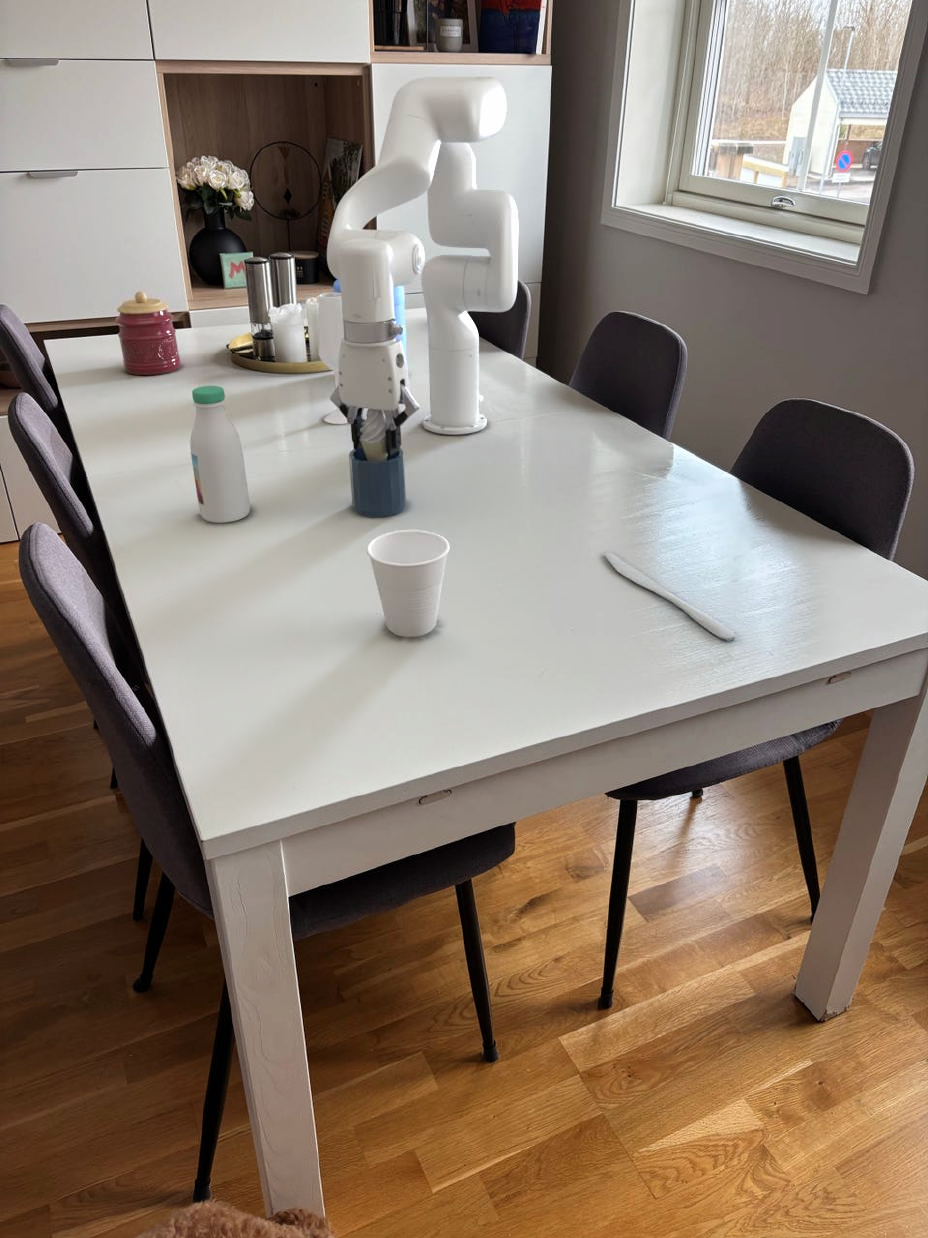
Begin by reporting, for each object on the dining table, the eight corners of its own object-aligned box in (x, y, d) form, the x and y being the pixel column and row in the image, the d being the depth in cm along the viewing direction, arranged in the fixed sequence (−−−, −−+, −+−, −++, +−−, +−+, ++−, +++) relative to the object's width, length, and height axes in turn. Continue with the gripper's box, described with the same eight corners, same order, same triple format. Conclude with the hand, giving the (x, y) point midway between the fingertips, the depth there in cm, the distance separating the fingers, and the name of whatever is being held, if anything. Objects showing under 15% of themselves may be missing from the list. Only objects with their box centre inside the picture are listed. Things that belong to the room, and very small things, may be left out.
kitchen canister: (139, 360, 233) (125, 285, 224) (189, 362, 231) (178, 286, 223) (115, 375, 222) (100, 296, 213) (168, 376, 220) (155, 297, 211)
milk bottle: (259, 507, 152) (244, 383, 142) (234, 526, 146) (216, 398, 136) (217, 502, 154) (199, 379, 145) (191, 520, 148) (170, 393, 138)
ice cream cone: (390, 494, 148) (384, 399, 141) (359, 492, 149) (351, 398, 142) (398, 482, 153) (393, 390, 145) (368, 480, 153) (361, 388, 146)
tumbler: (369, 493, 157) (365, 441, 153) (414, 501, 154) (412, 448, 150) (343, 512, 150) (339, 458, 146) (390, 520, 147) (387, 465, 143)
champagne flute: (317, 421, 190) (306, 297, 178) (334, 411, 196) (324, 290, 184) (347, 425, 188) (338, 299, 176) (363, 415, 193) (355, 292, 182)
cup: (371, 609, 123) (366, 531, 117) (448, 605, 124) (446, 527, 118) (371, 649, 114) (366, 567, 109) (454, 644, 115) (452, 562, 109)
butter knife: (719, 640, 114) (739, 633, 115) (596, 555, 135) (613, 550, 136) (719, 644, 114) (738, 637, 115) (596, 559, 136) (613, 553, 137)
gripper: (433, 329, 138) (436, 449, 148) (332, 319, 145) (341, 435, 154) (410, 341, 133) (415, 465, 142) (305, 331, 139) (316, 450, 148)
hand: (376, 448), depth 148 cm, fingers closed on ice cream cone, 5 cm apart
